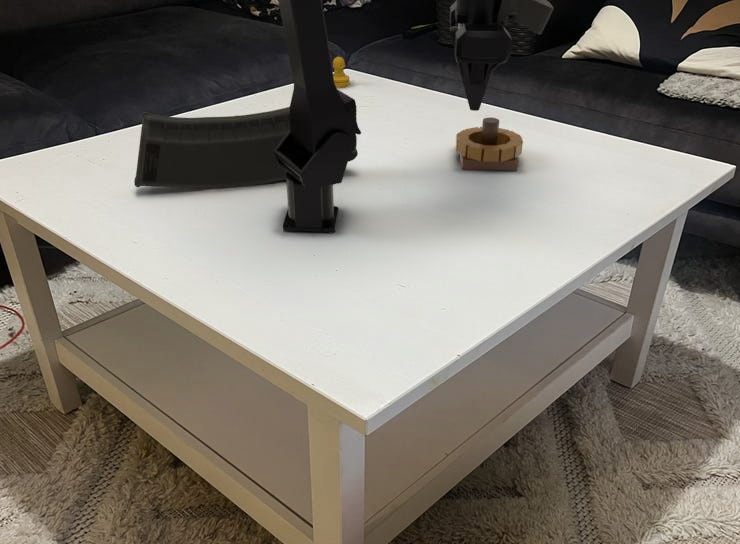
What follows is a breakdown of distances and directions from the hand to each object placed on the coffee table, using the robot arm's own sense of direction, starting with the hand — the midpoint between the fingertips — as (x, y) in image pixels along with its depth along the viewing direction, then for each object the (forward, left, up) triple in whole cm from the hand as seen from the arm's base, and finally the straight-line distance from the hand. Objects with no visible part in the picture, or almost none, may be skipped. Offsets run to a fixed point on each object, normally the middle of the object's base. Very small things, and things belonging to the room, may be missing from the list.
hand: (472, 98), depth 95 cm
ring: (+10, -4, -10) cm, 15 cm away
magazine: (0, +30, -12) cm, 32 cm away
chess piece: (+47, +21, -12) cm, 53 cm away
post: (+10, -4, -12) cm, 16 cm away
